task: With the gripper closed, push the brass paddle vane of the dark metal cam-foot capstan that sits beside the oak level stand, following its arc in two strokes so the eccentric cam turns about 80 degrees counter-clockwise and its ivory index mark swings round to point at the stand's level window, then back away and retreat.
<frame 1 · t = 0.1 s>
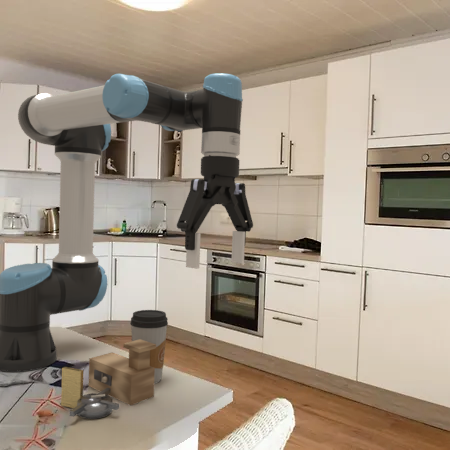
hand: (216, 265, 93), 28 cm above the table, fingers open, 13 cm apart
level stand: (120, 391, 100), on the table
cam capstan: (90, 391, 89), point 4 cm above the table, hinge at 0.0°
coffee cup: (147, 380, 107), on the table
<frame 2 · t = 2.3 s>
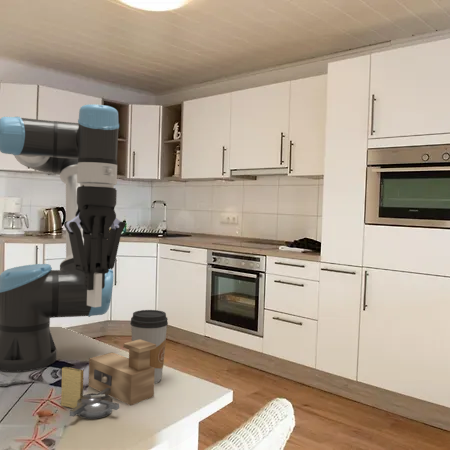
hand: (94, 305, 94), 19 cm above the table, fingers closed
nothing on the table moved.
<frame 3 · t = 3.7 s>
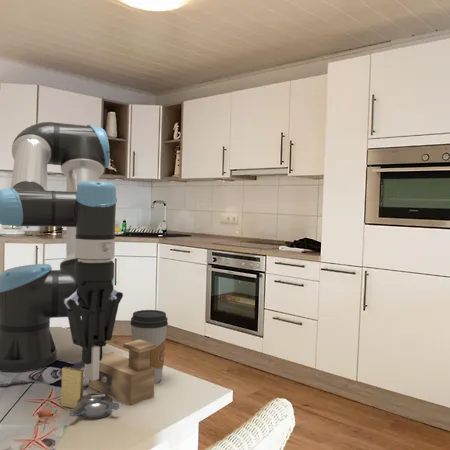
hand: (91, 378, 94), 4 cm above the table, fingers closed
nothing on the table moved.
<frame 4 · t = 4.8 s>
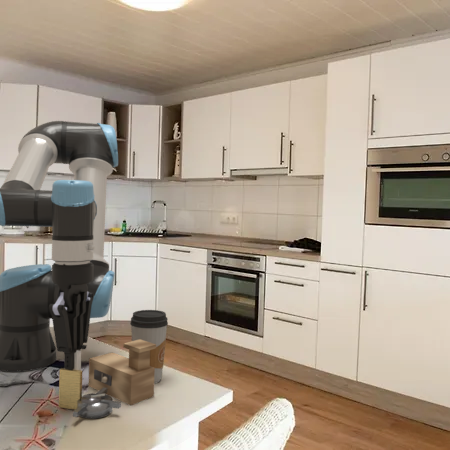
hand: (72, 384, 91), 4 cm above the table, fingers closed
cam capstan: (90, 391, 89), point 4 cm above the table, hinge at 7.2°, touching gripper
everything else where it was.
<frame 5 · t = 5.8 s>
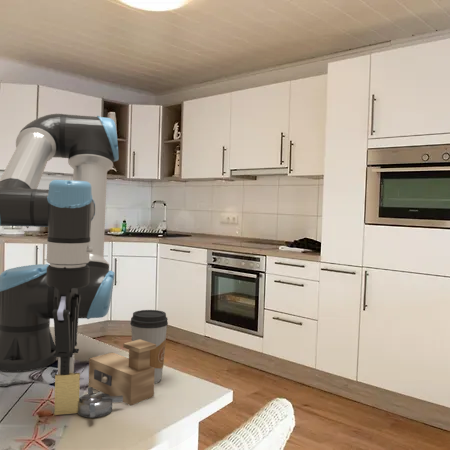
hand: (65, 389, 89), 4 cm above the table, fingers closed
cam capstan: (89, 391, 89), point 4 cm above the table, hinge at 37.6°, touching gripper
everything else where it was.
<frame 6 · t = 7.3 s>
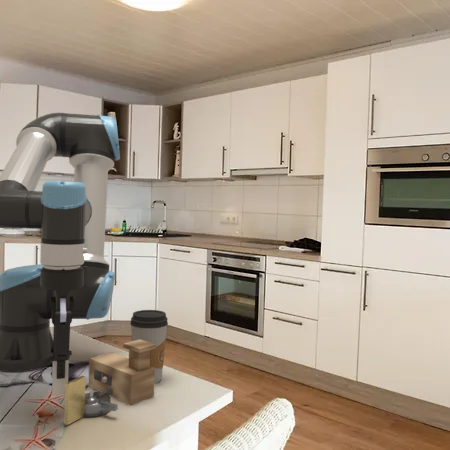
hand: (59, 393, 88), 4 cm above the table, fingers closed
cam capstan: (90, 392, 89), point 4 cm above the table, hinge at 84.4°
everything else where it was.
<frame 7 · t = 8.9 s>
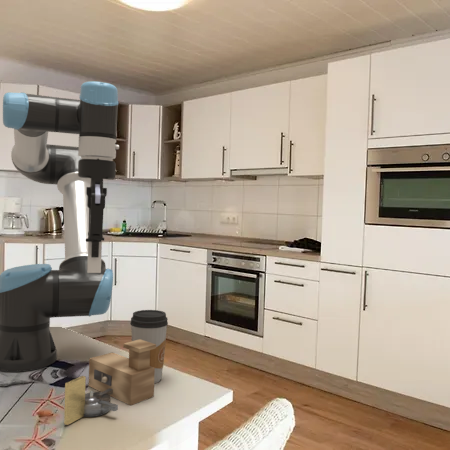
hand: (94, 272, 100), 25 cm above the table, fingers closed
nothing on the table moved.
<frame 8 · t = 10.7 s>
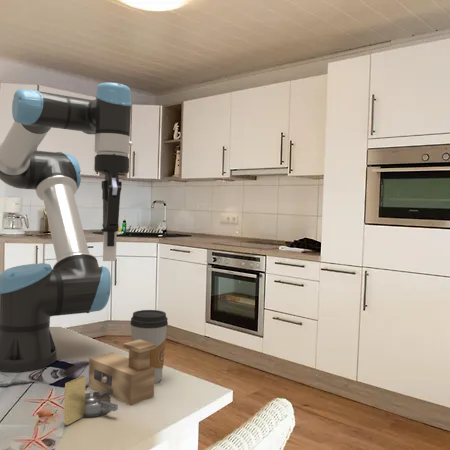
hand: (109, 260, 107), 26 cm above the table, fingers closed
nothing on the table moved.
at the end: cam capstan at +84° (first picture: +0°); coffee cup moved 0.2 cm from its start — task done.
